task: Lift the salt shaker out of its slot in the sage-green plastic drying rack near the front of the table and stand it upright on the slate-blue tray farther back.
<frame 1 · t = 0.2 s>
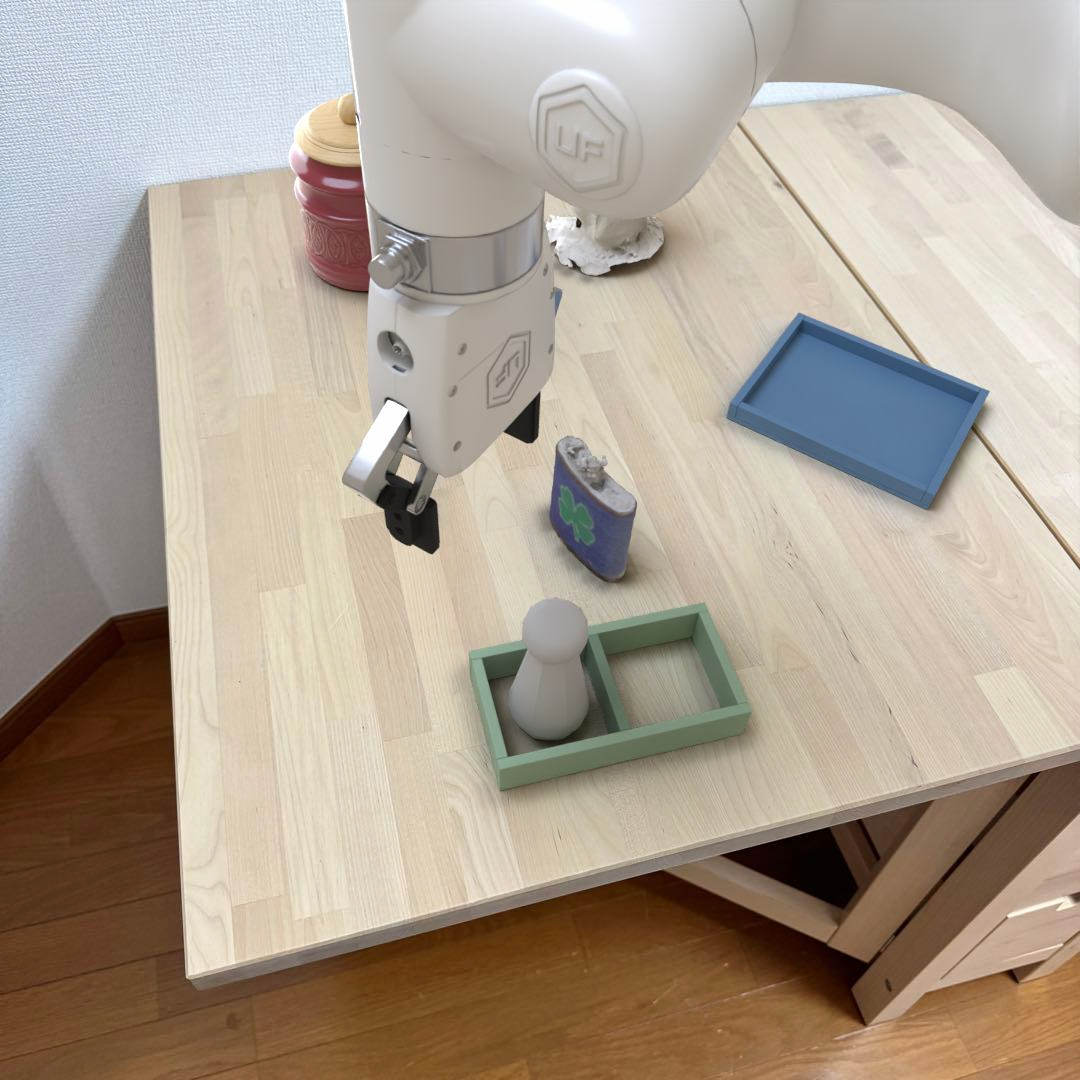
hand: (465, 483, 56), 23 cm above the table, tool pointing down, fingers open, 9 cm apart
rack: (604, 704, 74), on the table
tray: (855, 411, 94), on the table
flask: (584, 545, 84), on the table
salt shaker: (547, 717, 74), resting in rack
mushroom: (603, 241, 109), on the table
kitchen canister: (369, 257, 106), on the table
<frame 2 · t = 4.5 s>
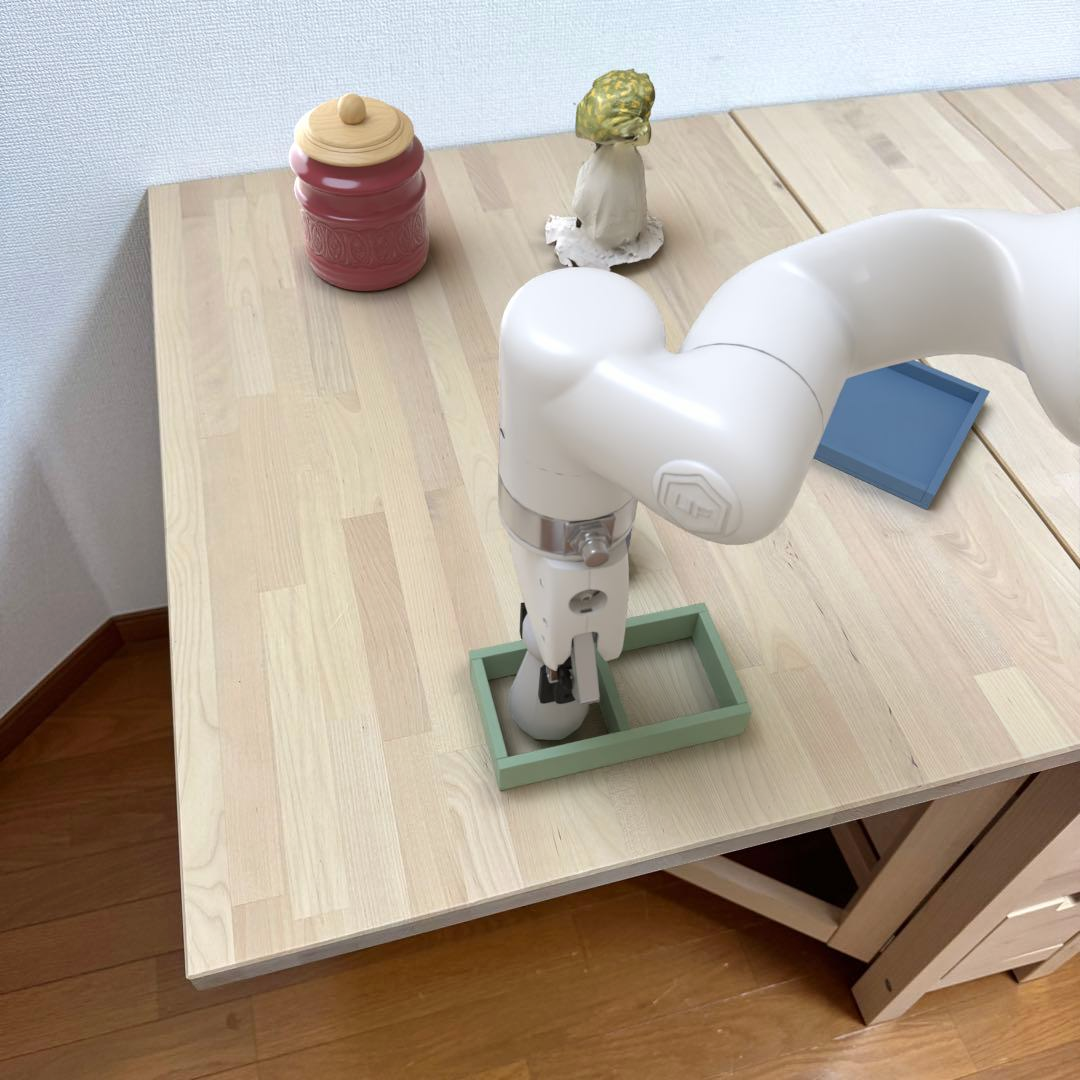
hand: (552, 662, 68), 8 cm above the table, tool pointing down, fingers closed on salt shaker, 4 cm apart
salt shaker: (547, 717, 74), resting in rack, touching gripper
everything else where it was.
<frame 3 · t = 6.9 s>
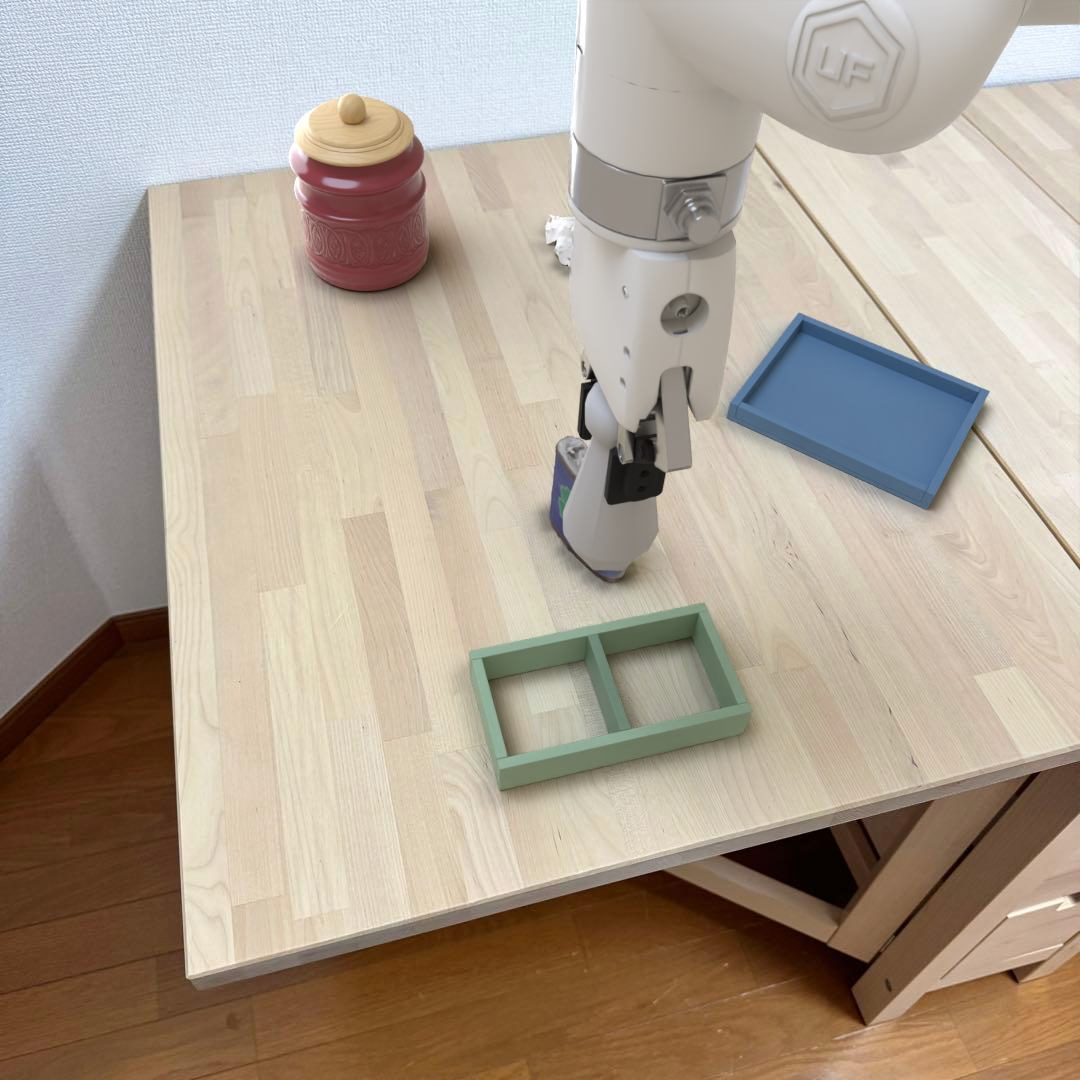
hand: (618, 461, 56), 25 cm above the table, tool pointing down, fingers closed on salt shaker, 4 cm apart
salt shaker: (606, 548, 62), point 17 cm above the table, touching gripper
everything else where it was.
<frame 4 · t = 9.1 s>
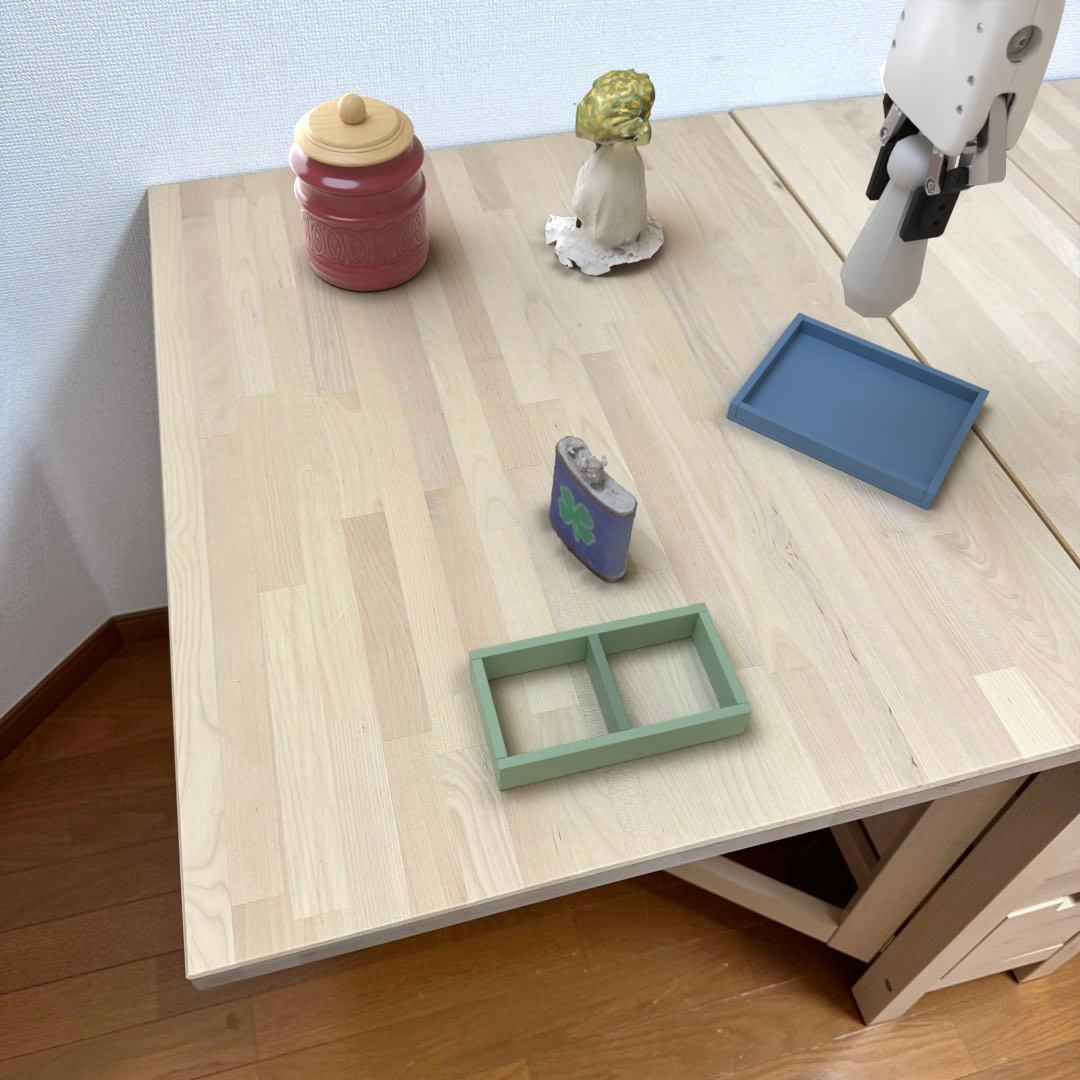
hand: (903, 214, 71), 25 cm above the table, tool pointing down, fingers closed on salt shaker, 4 cm apart
salt shaker: (869, 304, 77), point 17 cm above the table, touching gripper
everything else where it was.
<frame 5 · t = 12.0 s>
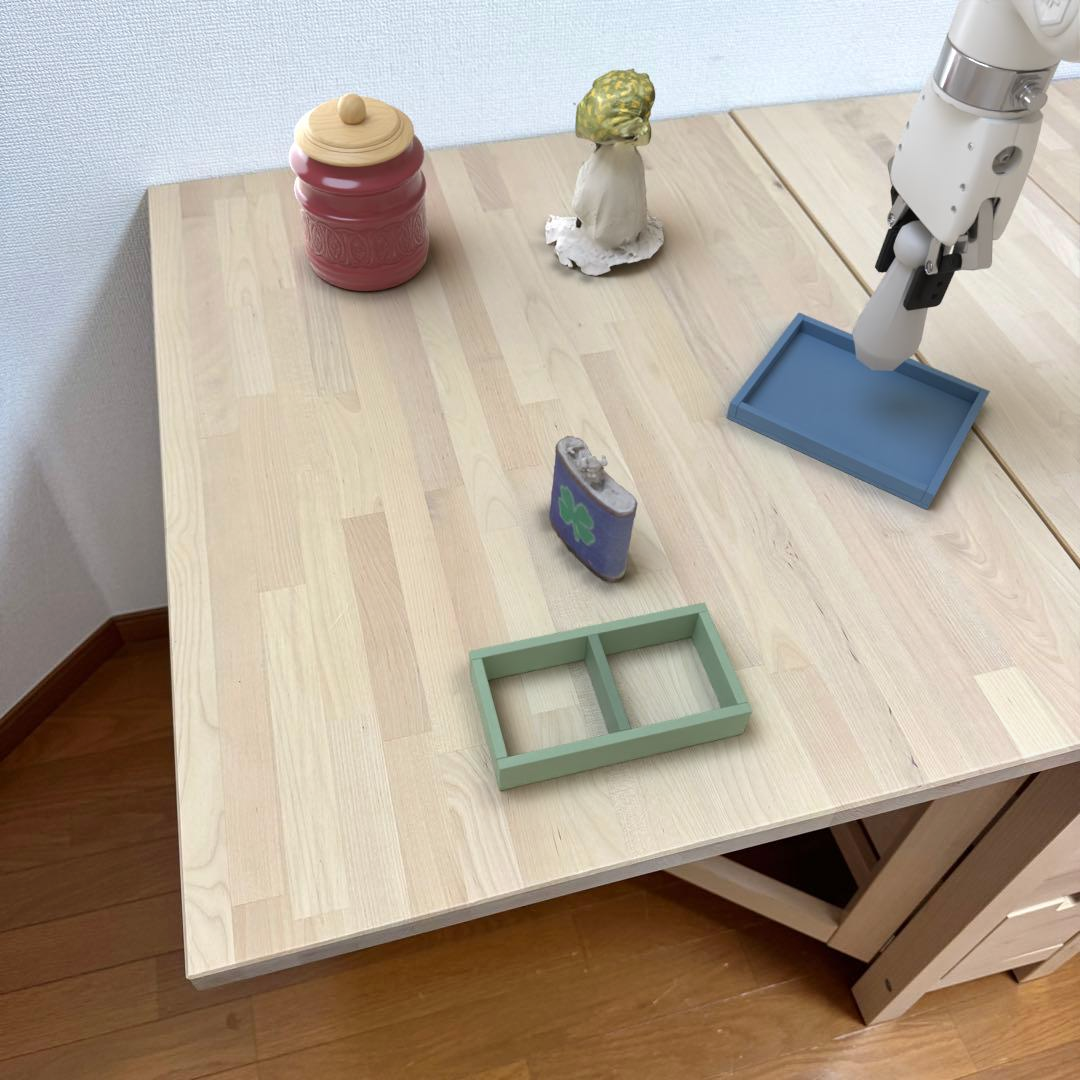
hand: (906, 285, 83), 15 cm above the table, tool pointing down, fingers closed on salt shaker, 4 cm apart
salt shaker: (877, 357, 89), point 7 cm above the table, touching gripper
everything else where it was.
when the fingers open (8 cm above the table, at t = 13.9 s): salt shaker stays where it is, resting on tray.
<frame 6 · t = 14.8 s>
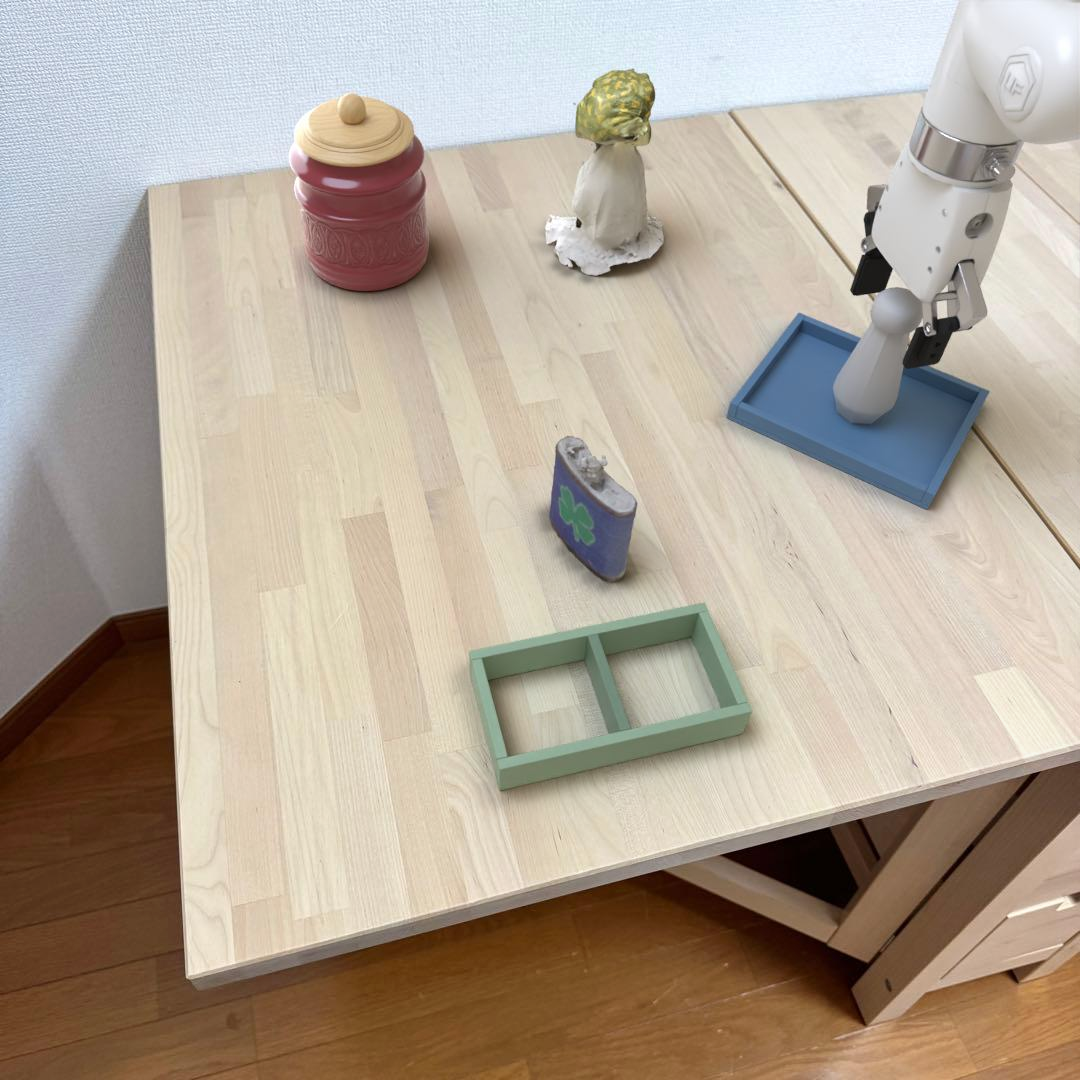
hand: (892, 327, 86), 11 cm above the table, tool pointing down, fingers open, 9 cm apart
salt shaker: (857, 410, 94), resting on tray
everything else where it was.
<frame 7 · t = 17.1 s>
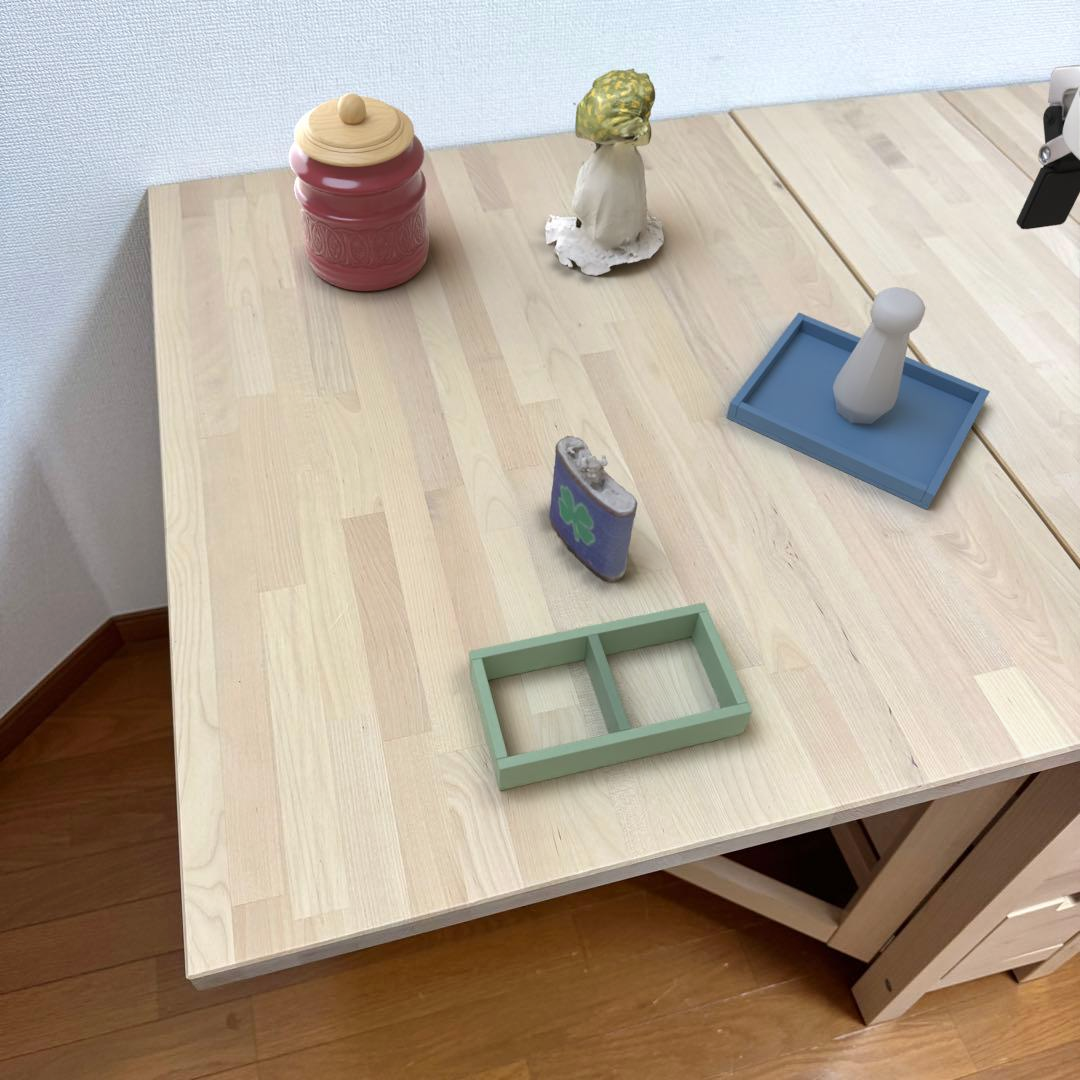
nothing on the table moved.
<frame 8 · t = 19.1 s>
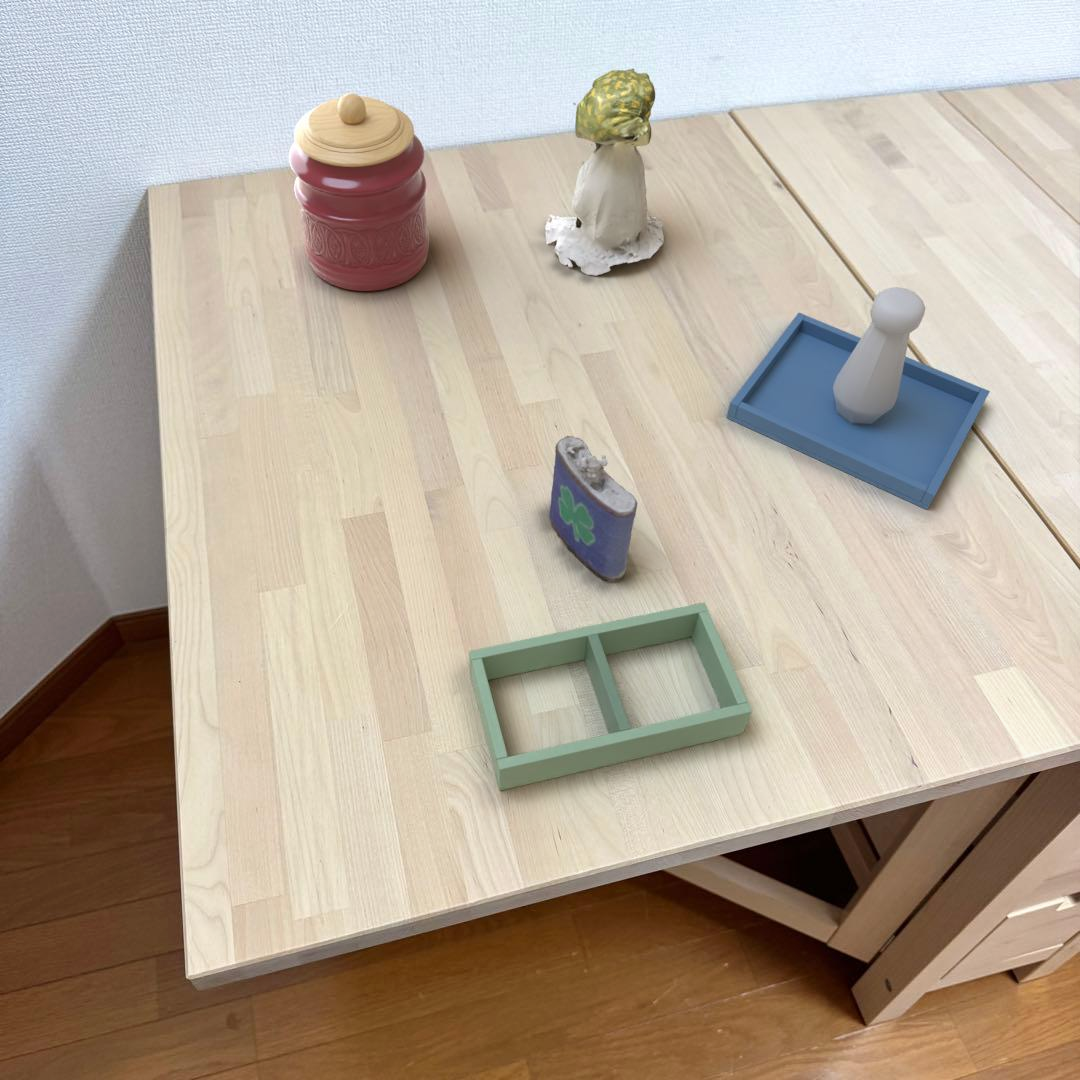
nothing on the table moved.
at the end: salt shaker inside the target area in the tray (0.1 cm from its centre), point 0.3 cm above the tray's base; salt shaker tilted 0° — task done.
